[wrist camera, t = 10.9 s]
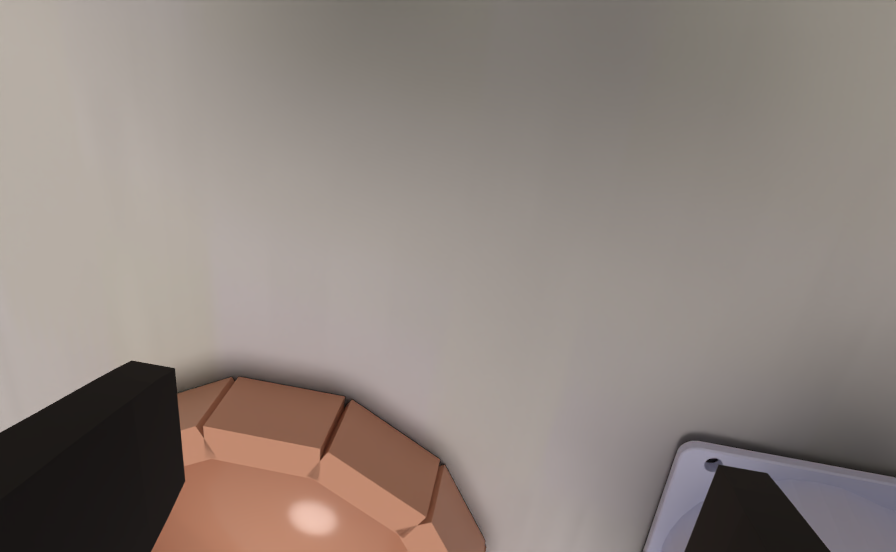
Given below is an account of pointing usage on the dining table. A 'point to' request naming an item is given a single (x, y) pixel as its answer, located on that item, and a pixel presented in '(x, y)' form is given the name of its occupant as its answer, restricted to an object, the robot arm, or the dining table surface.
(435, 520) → the dish
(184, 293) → the dining table surface
